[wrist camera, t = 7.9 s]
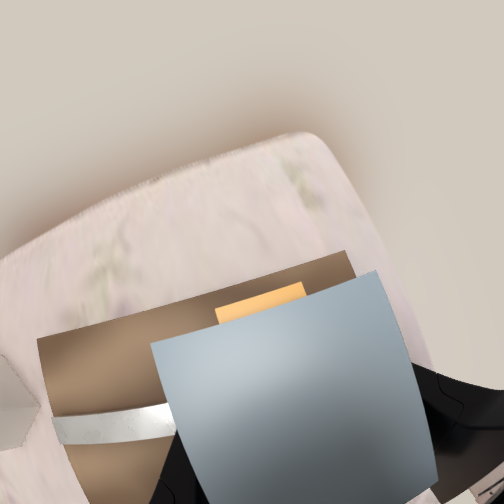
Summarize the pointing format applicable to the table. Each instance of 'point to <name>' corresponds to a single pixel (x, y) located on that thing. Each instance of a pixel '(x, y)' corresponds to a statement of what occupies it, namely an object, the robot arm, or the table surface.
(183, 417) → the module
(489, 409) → the robot arm
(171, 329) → the rail board
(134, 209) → the table surface
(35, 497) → the table surface
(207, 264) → the table surface
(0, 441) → the white cube
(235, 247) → the table surface
